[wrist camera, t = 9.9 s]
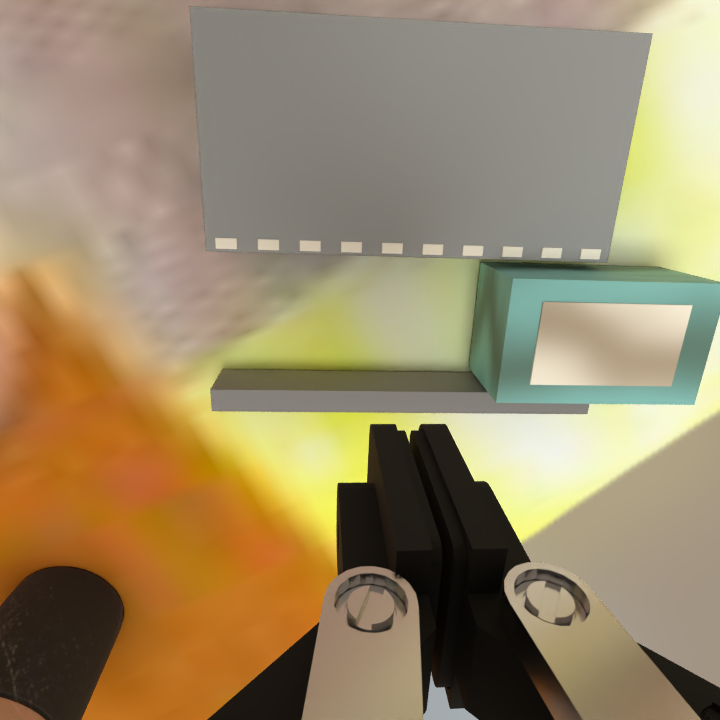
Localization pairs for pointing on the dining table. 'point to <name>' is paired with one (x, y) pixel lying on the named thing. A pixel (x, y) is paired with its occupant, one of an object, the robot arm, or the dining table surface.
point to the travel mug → (55, 643)
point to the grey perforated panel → (406, 163)
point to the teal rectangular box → (592, 333)
